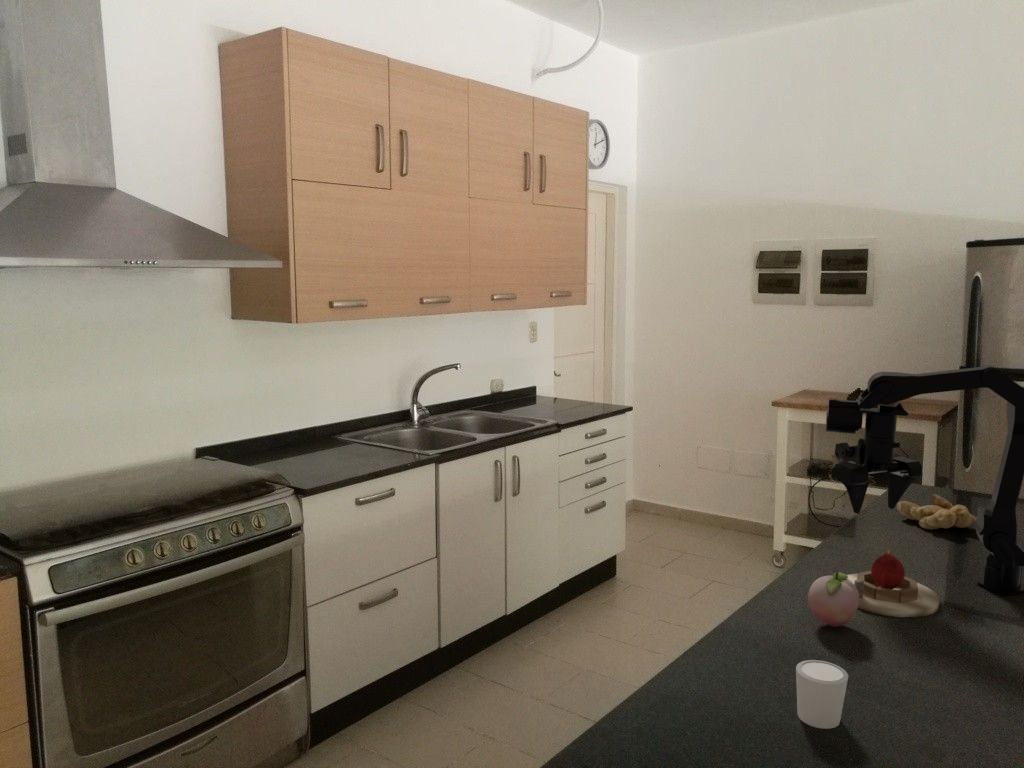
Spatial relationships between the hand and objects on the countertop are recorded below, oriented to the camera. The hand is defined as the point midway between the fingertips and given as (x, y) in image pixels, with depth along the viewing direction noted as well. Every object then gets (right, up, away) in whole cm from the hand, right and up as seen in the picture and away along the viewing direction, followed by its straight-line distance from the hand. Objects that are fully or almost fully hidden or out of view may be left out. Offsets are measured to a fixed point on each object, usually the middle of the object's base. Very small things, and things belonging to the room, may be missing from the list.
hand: (873, 510), depth 169 cm
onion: (-2, -14, -11) cm, 18 cm away
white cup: (-30, -21, -52) cm, 64 cm away
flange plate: (-2, -15, -11) cm, 18 cm away
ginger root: (+30, -9, +31) cm, 44 cm away
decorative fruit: (-18, -17, -23) cm, 34 cm away
